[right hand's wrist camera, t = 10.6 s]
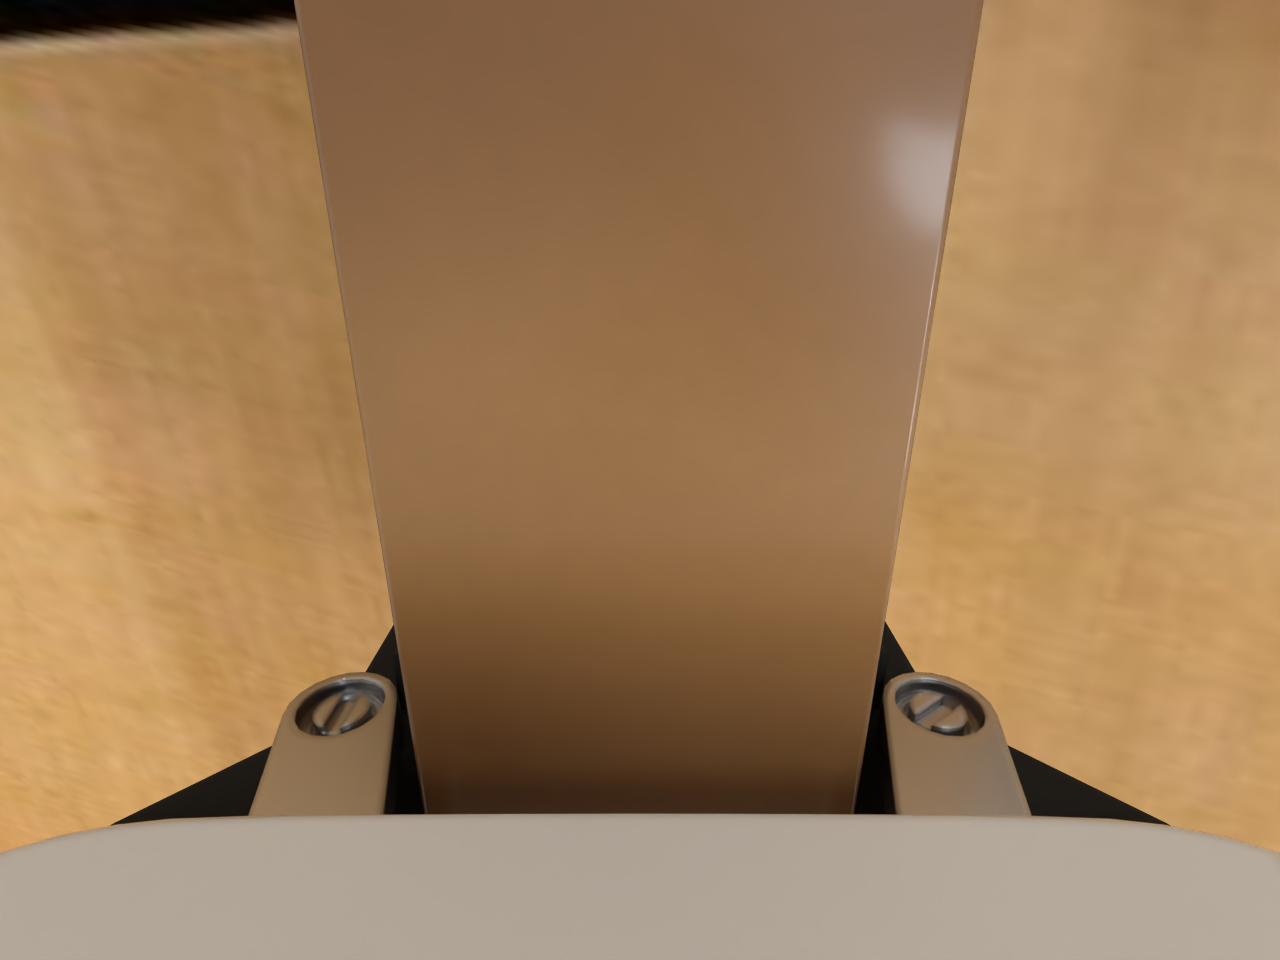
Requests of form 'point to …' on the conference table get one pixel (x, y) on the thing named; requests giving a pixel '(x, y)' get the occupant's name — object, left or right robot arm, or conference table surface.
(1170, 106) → the conference table surface
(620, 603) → the beam
